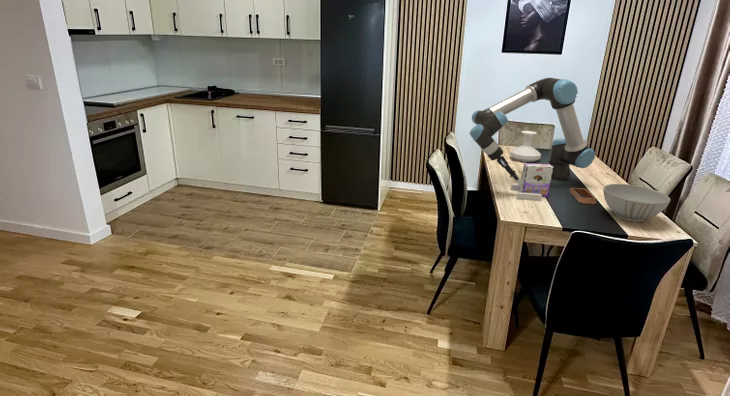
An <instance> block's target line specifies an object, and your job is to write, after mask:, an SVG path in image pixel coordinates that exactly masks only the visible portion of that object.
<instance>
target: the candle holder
mask: <svg viewBox="0 0 730 396" xmlns="http://www.w3.org/2000/svg"><path fill="white" fill-rule="evenodd" d="M520 132H521V134H522V135H523V141H522V145H520V146H516V147H514V148H512V149H511V150H510V153H509V155H510V156H511V157H512V159H514V160H516V161H520V162H525V163H531V162H532V163H533V162H536V161H538V160H540V159H541V157H542V154H541V152H539V150H537V149H536V148H534V147H533V146H532V142H533V136H535V135H538V133H537V132H536V131H534V130H521V131H520Z"/></svg>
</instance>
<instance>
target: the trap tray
mask: <svg viewBox="0 0 730 396" xmlns="http://www.w3.org/2000/svg"><path fill="white" fill-rule="evenodd" d="M569 195H571V196H572V198H574V200H575V201H576V202H578V204H580V203H582V204H583V205H594V204H596V205H597V201H598V198H597V197H595V195H594V194H592V193H591V192H590V191H589V190H588V189H587V188H578V187H570V188H569Z"/></svg>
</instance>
